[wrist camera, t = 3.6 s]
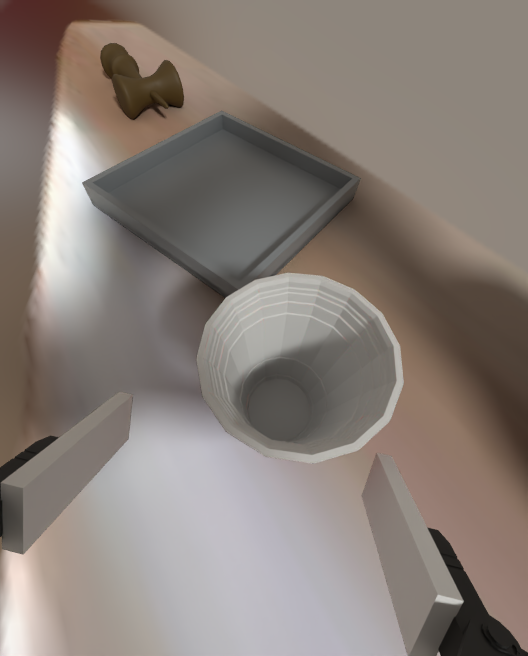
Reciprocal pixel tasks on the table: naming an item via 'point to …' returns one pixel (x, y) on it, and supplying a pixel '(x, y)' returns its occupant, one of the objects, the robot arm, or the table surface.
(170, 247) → the grey tray
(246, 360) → the plastic cup
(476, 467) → the table surface
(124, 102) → the kendama
